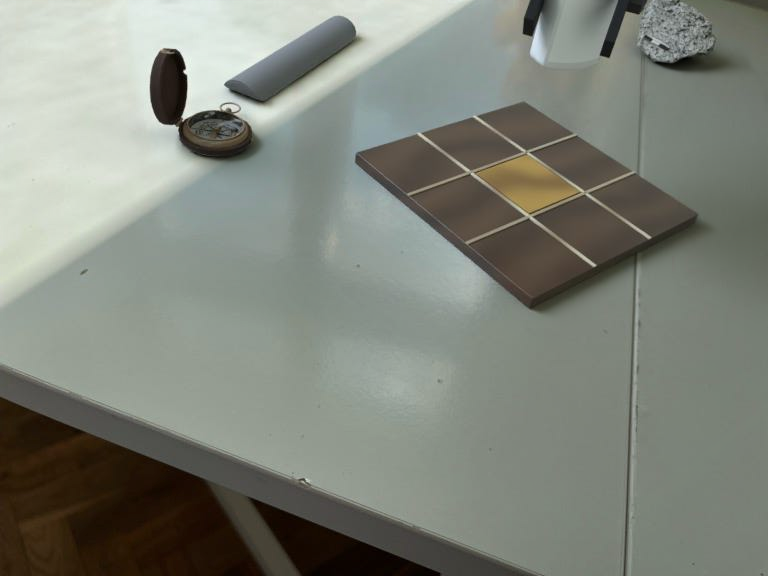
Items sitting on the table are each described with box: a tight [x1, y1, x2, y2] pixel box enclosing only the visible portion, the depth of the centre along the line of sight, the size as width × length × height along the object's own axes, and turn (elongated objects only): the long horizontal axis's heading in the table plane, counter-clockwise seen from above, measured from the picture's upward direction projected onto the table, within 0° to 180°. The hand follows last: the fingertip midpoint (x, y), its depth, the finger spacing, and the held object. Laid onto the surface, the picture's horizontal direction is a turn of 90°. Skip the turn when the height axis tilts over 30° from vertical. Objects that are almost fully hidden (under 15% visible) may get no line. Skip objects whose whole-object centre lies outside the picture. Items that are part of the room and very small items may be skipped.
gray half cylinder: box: [223, 15, 357, 101], centre depth 79 cm, size 4×20×2 cm, turn 153°
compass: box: [149, 47, 254, 158], centre depth 65 cm, size 8×8×7 cm
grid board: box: [354, 101, 700, 309], centre depth 67 cm, size 21×21×1 cm
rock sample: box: [636, 0, 717, 64], centre depth 93 cm, size 10×8×9 cm
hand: (567, 37), depth 56 cm, fingers closed on eye dropper bottle, 5 cm apart
